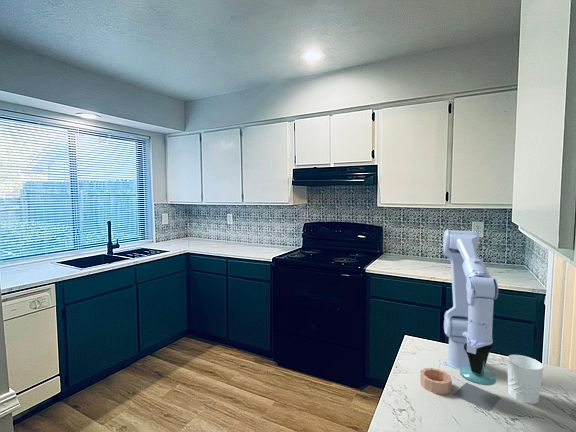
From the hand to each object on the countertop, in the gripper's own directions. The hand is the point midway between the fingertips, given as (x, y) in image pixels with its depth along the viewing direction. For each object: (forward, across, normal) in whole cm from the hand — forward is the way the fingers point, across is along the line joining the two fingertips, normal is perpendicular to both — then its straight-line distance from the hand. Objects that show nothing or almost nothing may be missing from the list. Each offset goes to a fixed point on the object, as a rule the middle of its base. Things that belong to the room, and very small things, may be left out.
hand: (477, 369), depth 88 cm
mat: (+8, 0, 0) cm, 8 cm away
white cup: (+8, -9, +9) cm, 15 cm away
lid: (+2, 0, 0) cm, 2 cm away
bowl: (+8, +3, -10) cm, 13 cm away
